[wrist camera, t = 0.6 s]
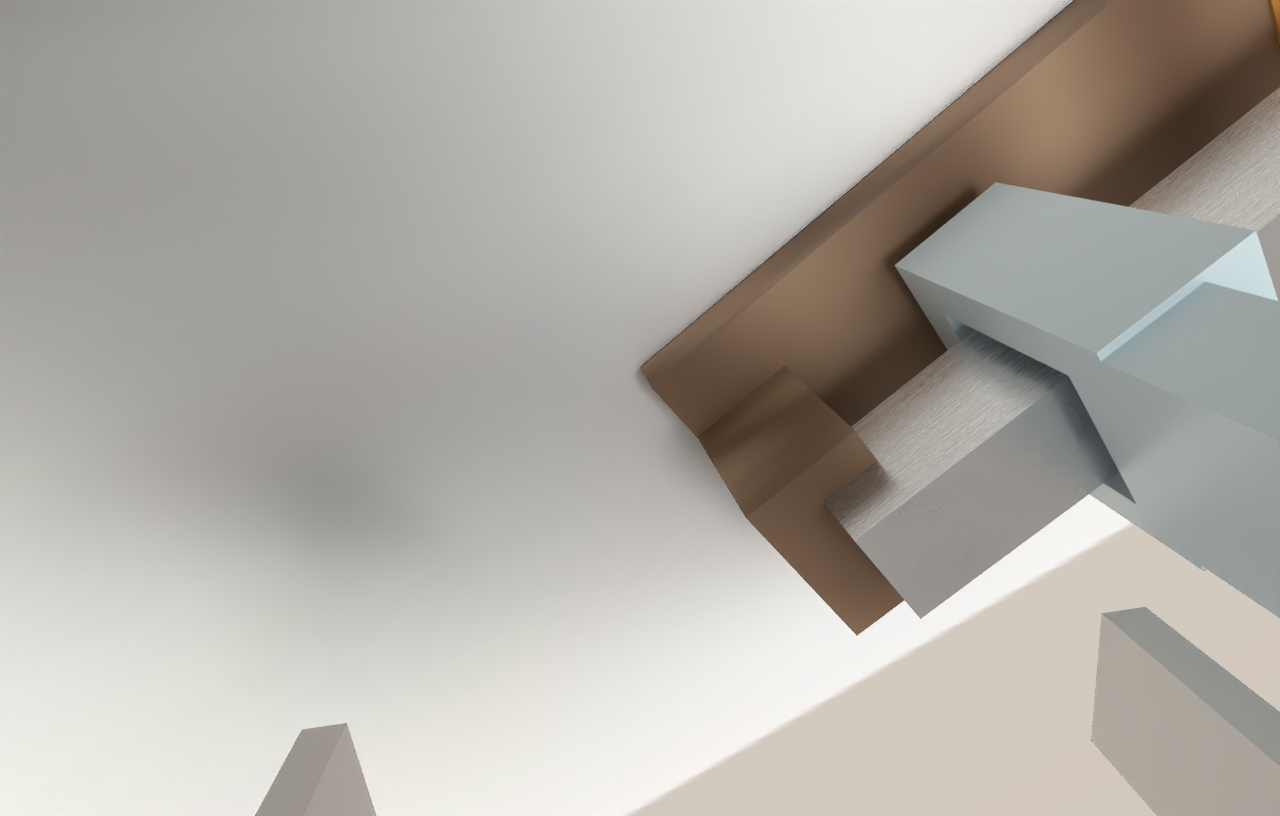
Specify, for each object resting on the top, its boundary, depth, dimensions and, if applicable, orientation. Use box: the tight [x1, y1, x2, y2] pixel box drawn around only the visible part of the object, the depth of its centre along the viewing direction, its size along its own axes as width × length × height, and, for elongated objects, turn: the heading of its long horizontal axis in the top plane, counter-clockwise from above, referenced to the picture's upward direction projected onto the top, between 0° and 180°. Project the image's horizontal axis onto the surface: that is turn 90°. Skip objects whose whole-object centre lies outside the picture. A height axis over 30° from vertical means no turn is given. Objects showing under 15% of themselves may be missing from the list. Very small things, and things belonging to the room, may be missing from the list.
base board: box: [641, 0, 1280, 635], centre depth 17 cm, size 28×9×6 cm, turn 129°
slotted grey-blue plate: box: [895, 182, 1280, 618], centre depth 12 cm, size 3×6×14 cm, turn 39°
